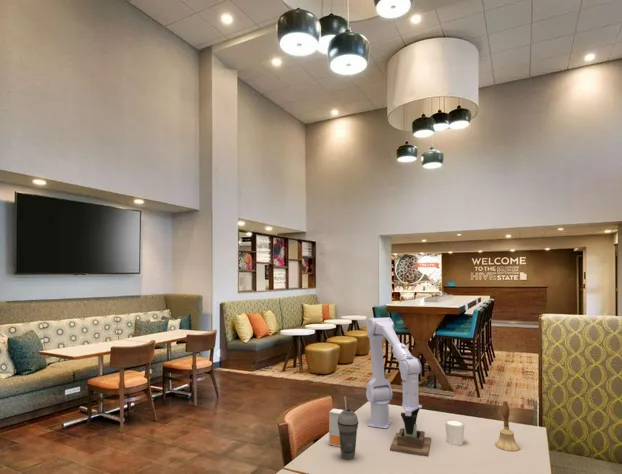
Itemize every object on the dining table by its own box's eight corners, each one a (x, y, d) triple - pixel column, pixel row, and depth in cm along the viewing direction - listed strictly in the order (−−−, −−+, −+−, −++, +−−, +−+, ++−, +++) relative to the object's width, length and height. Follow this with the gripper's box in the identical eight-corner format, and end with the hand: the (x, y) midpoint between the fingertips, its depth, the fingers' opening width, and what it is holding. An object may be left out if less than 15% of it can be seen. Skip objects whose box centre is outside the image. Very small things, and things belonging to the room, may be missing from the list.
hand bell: (495, 449, 150) (494, 403, 152) (494, 440, 158) (492, 397, 159) (521, 452, 147) (519, 406, 149) (518, 444, 155) (517, 399, 157)
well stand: (396, 435, 162) (396, 424, 163) (431, 440, 158) (431, 429, 158) (389, 450, 148) (389, 438, 149) (427, 456, 144) (427, 444, 144)
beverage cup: (352, 463, 138) (352, 401, 140) (333, 458, 142) (333, 397, 143) (362, 455, 144) (361, 395, 146) (343, 450, 148) (343, 392, 150)
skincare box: (328, 445, 153) (328, 411, 154) (333, 441, 157) (333, 408, 158) (343, 448, 150) (343, 413, 151) (348, 444, 154) (348, 410, 155)
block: (405, 439, 156) (405, 423, 156) (416, 441, 154) (416, 424, 155) (404, 443, 152) (404, 426, 152) (415, 445, 151) (415, 428, 151)
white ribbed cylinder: (442, 442, 156) (441, 423, 157) (450, 437, 161) (449, 418, 162) (460, 447, 151) (459, 427, 152) (467, 442, 156) (467, 422, 157)
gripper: (419, 398, 147) (420, 439, 145) (423, 388, 160) (424, 425, 159) (399, 396, 149) (399, 436, 148) (404, 386, 163) (405, 422, 161)
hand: (410, 430), depth 153 cm, fingers open, 7 cm apart
